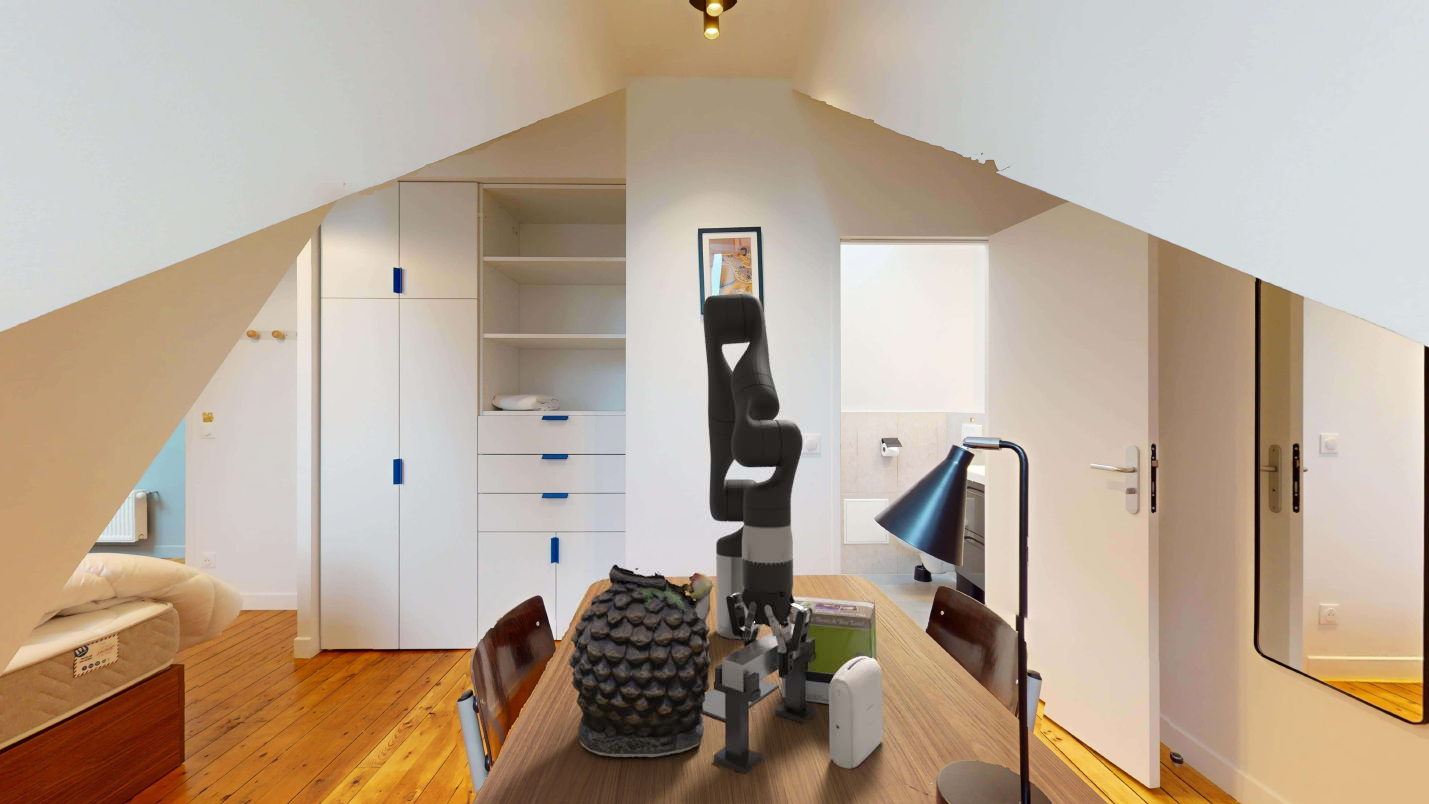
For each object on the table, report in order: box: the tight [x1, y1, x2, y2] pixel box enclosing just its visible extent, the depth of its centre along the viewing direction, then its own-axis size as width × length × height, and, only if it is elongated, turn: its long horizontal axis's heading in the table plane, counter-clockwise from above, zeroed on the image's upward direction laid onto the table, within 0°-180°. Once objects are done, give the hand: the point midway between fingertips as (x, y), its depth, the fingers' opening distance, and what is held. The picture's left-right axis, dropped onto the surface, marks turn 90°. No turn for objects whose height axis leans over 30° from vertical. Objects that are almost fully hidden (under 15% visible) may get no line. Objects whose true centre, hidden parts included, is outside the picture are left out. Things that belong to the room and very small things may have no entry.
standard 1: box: [713, 663, 762, 775], centre depth 79 cm, size 4×6×12 cm, turn 53°
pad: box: [701, 679, 780, 722], centre depth 98 cm, size 15×8×1 cm, turn 143°
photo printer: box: [828, 656, 884, 769], centre depth 82 cm, size 10×4×12 cm, turn 140°
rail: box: [721, 624, 808, 692], centre depth 86 cm, size 18×4×4 cm, turn 143°
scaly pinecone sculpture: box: [568, 564, 714, 758], centre depth 85 cm, size 21×15×25 cm
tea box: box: [780, 595, 878, 705], centre depth 100 cm, size 15×10×15 cm
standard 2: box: [774, 638, 817, 725], centre depth 92 cm, size 4×6×12 cm, turn 53°
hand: (768, 671), depth 86 cm, fingers open, 5 cm apart
